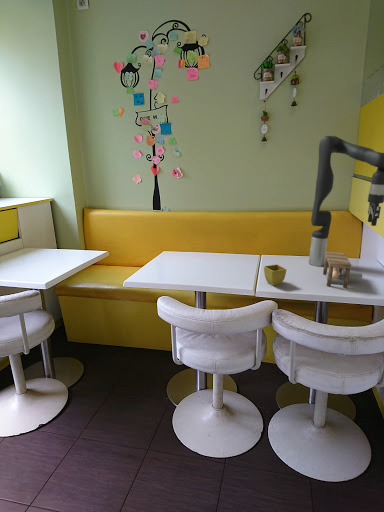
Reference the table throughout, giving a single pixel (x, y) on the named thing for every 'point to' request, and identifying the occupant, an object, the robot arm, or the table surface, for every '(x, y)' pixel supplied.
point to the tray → (342, 276)
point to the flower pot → (274, 274)
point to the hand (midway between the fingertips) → (371, 223)
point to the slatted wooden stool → (336, 261)
